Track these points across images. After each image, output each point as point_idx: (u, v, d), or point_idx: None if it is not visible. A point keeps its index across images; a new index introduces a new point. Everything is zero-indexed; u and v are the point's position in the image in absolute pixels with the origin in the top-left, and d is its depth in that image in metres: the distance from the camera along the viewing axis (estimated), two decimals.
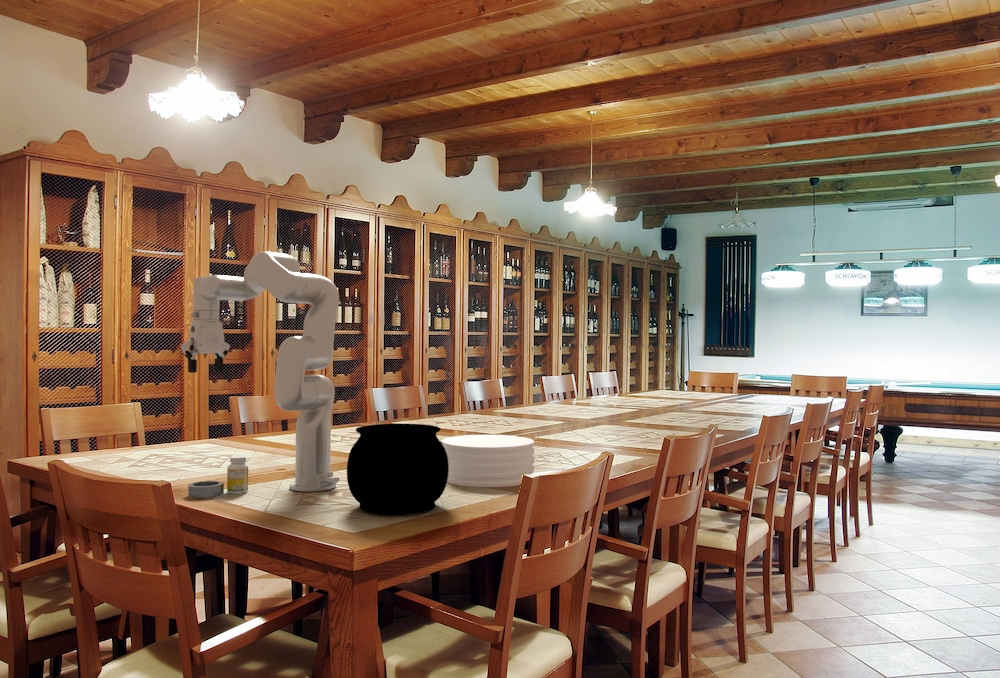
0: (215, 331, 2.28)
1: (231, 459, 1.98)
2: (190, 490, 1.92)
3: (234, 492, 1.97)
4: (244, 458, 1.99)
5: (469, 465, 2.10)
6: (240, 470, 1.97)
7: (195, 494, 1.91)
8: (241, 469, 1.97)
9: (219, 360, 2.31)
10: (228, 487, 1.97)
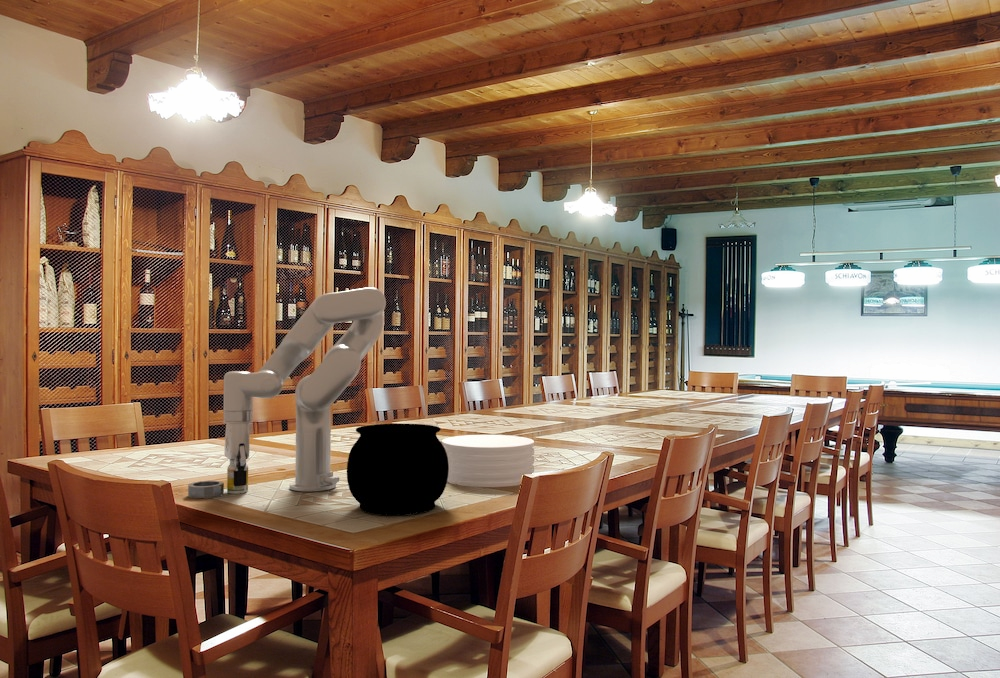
0: (228, 434, 1.97)
1: None
2: (190, 490, 1.92)
3: (234, 492, 1.97)
4: None
5: (469, 465, 2.10)
6: None
7: (195, 494, 1.91)
8: None
9: None
10: (228, 487, 1.97)
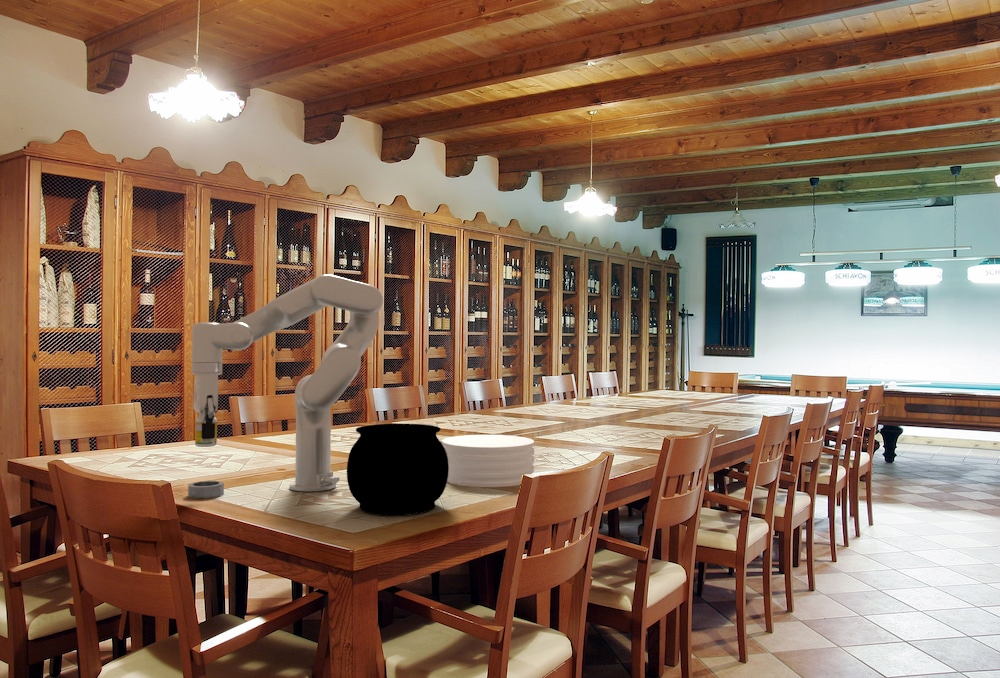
0: (196, 386, 1.93)
1: None
2: (190, 490, 1.92)
3: (202, 445, 1.92)
4: None
5: (469, 465, 2.10)
6: None
7: (195, 494, 1.91)
8: None
9: None
10: (196, 440, 1.93)
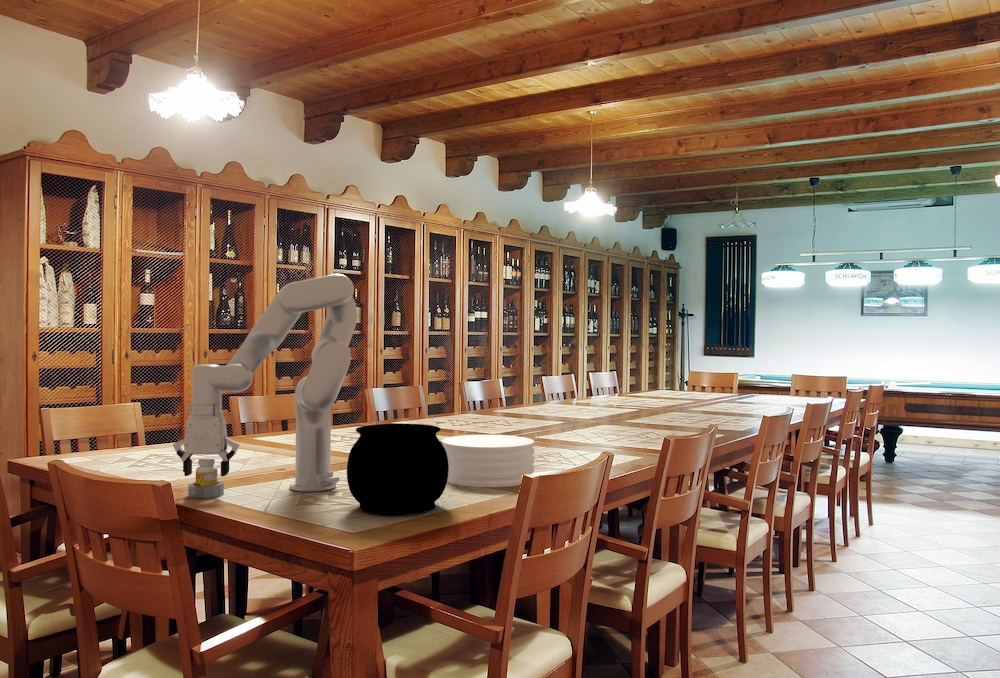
0: (206, 429, 1.92)
1: (206, 462, 1.93)
2: (190, 490, 1.92)
3: None
4: None
5: (469, 465, 2.10)
6: None
7: (195, 494, 1.91)
8: None
9: None
10: None
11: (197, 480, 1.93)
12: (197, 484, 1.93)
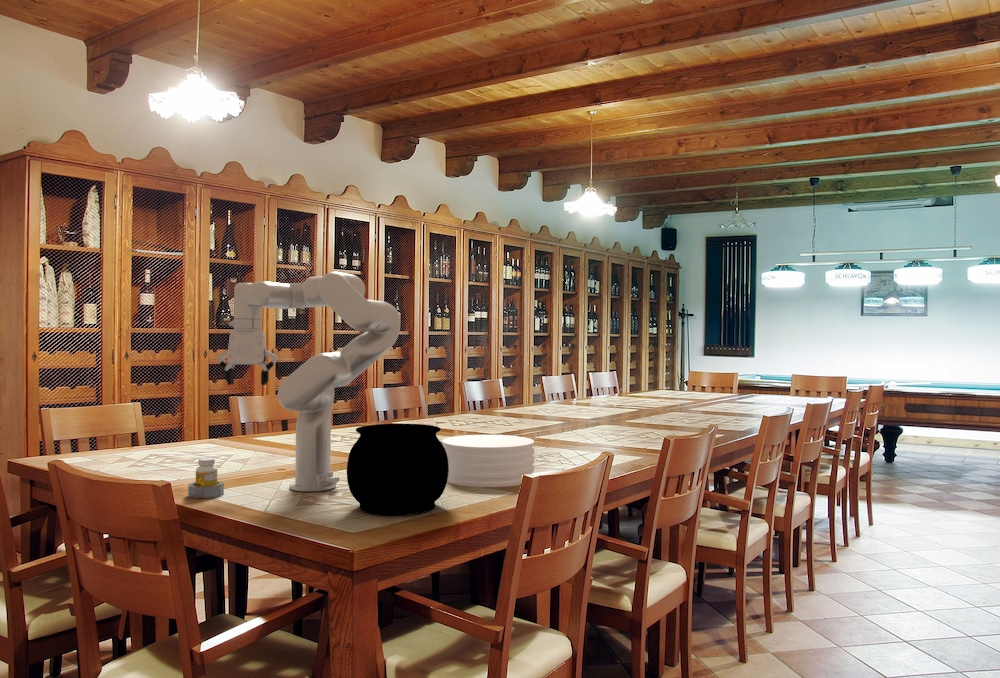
0: (248, 341, 2.10)
1: (206, 462, 1.93)
2: (190, 490, 1.92)
3: None
4: None
5: (469, 465, 2.10)
6: None
7: (195, 494, 1.91)
8: None
9: None
10: None
11: (197, 480, 1.93)
12: (197, 484, 1.93)
